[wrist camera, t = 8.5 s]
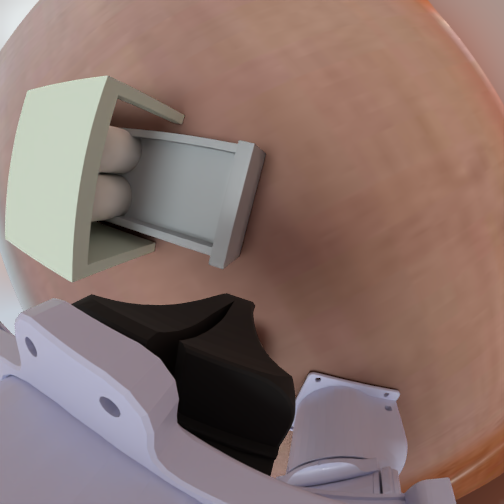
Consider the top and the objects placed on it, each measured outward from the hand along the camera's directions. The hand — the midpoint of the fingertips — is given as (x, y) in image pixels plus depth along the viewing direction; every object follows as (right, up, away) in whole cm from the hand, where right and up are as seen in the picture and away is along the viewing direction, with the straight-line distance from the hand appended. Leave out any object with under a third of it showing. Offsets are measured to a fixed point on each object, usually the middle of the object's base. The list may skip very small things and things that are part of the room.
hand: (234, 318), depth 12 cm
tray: (-6, +8, +10) cm, 15 cm away
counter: (-11, +10, +11) cm, 18 cm away
